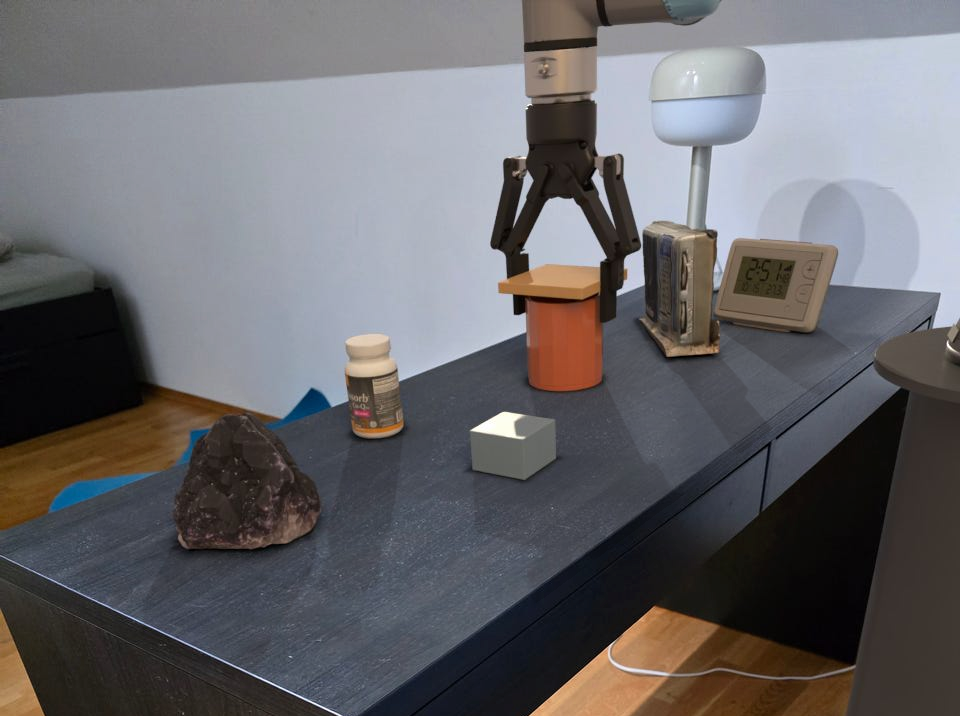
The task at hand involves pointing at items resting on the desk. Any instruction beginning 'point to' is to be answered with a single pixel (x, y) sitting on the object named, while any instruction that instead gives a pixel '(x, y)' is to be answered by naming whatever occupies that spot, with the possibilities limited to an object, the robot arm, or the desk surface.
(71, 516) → the desk surface
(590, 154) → the robot arm
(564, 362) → the cup
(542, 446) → the stand
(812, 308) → the digital clock
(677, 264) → the radio
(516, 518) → the desk surface
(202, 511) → the crystal cluster
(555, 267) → the mat
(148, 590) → the desk surface
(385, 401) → the pill bottle
